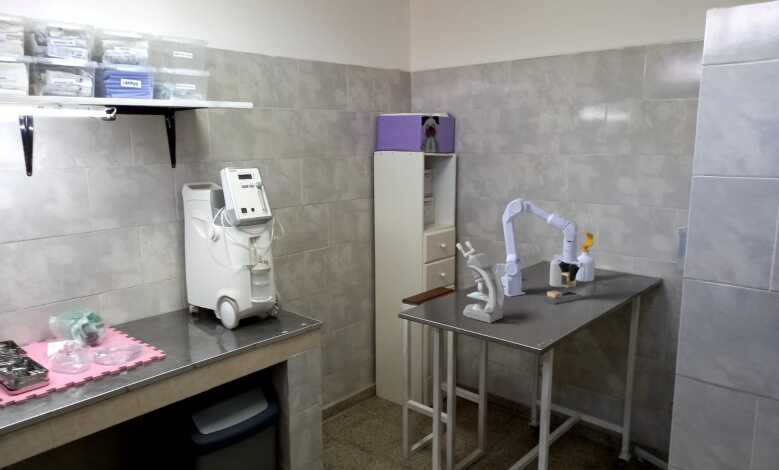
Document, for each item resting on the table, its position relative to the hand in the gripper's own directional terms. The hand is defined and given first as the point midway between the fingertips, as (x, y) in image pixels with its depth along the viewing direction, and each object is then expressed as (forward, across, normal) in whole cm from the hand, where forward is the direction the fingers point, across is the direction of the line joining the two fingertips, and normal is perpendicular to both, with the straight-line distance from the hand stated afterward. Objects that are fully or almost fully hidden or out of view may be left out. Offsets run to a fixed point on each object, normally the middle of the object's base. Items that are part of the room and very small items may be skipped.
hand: (568, 279), depth 247 cm
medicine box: (+9, +39, +6) cm, 40 cm away
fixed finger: (+8, 0, +8) cm, 11 cm away
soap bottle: (+9, +21, -30) cm, 38 cm away
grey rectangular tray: (+9, 0, +4) cm, 9 cm away
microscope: (+9, -1, +48) cm, 49 cm away
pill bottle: (+9, +19, -12) cm, 24 cm away
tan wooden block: (+3, 0, 0) cm, 3 cm away
